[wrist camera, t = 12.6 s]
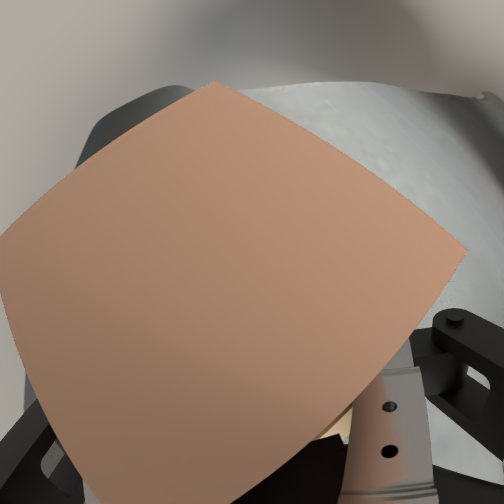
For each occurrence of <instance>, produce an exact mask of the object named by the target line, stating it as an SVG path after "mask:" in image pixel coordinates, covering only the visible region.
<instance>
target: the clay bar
mask: <svg viewBox="0 0 504 504" xmlns="http://www.w3.org/2000/svg"><path fill="white" fill-rule="evenodd" d="M467 251H468V250H467V249H466V248H465V247H464V246H463V245H462V244H461V243H460V242H459V241H458V240H456V239H455V238H454V237H453V236H452V235H451V234H450V233H448V232H447V231H446V230H445V229H444V228H443V227H441V226H440V225H439V224H438V223H437V222H436V221H434V220H433V219H432V218H431V217H430V216H428V215H427V214H426V213H425V212H423V211H422V210H421V209H420V208H418V207H417V206H416V205H415V204H413V203H412V202H411V201H410V200H408V199H407V198H406V197H404V196H403V195H402V194H401V193H399V192H398V191H397V190H395V189H394V188H393V187H391V186H390V185H389V184H387V183H386V182H385V181H383V180H382V179H380V178H379V177H378V176H376V175H375V174H373V173H372V172H371V171H369V170H368V169H366V168H365V167H363V166H362V165H361V164H359V163H358V162H356V161H355V160H353V159H352V158H350V157H349V156H347V155H346V154H344V153H343V152H341V151H340V150H338V149H337V148H335V147H333V146H332V145H330V144H329V143H327V142H326V141H324V140H322V139H321V138H319V137H318V136H316V135H314V134H313V133H311V132H309V131H308V130H306V129H304V128H303V127H301V126H299V125H298V124H296V123H294V122H293V121H291V120H289V119H287V118H286V117H284V116H282V115H280V114H278V113H277V112H275V111H273V110H271V109H269V108H268V107H266V106H264V105H262V104H260V103H258V102H256V101H254V100H253V99H251V98H249V97H247V96H245V95H243V94H241V93H239V92H237V91H235V90H233V89H231V88H229V87H227V86H225V85H222V84H220V83H218V82H216V81H213V82H212V83H209V84H208V85H206V86H204V87H202V88H200V89H198V90H196V91H194V92H192V93H190V94H189V95H187V96H185V97H183V98H181V99H180V100H178V101H176V102H174V103H173V104H171V105H169V106H167V107H166V108H164V109H162V110H161V111H159V112H157V113H156V114H154V115H152V116H151V117H149V118H147V119H146V120H144V121H143V122H141V123H139V124H138V125H136V126H135V127H133V128H132V129H130V130H129V131H127V132H126V133H124V134H123V135H121V136H120V137H118V138H117V139H115V140H114V141H112V142H111V143H110V144H108V145H107V146H105V147H104V148H103V149H101V150H100V151H98V152H97V153H96V154H94V155H93V156H92V157H90V158H89V159H88V160H86V161H85V162H84V163H82V164H81V165H80V166H78V167H77V168H76V169H75V170H73V171H72V172H71V173H69V174H68V175H67V176H66V177H65V178H63V179H62V180H61V181H60V182H58V183H57V184H56V185H55V186H54V187H53V188H51V189H50V190H49V191H48V192H47V193H46V194H44V195H43V196H42V197H41V198H40V199H39V200H38V201H36V202H35V203H34V204H33V205H32V206H31V207H30V208H29V209H28V210H27V211H26V212H24V213H23V214H22V215H21V216H20V217H19V218H18V219H17V220H16V221H15V222H14V223H13V224H12V225H11V226H10V227H9V228H8V229H7V230H6V231H5V232H4V233H3V234H2V235H1V236H0V293H1V297H2V301H3V305H4V308H5V312H6V315H7V319H8V322H9V325H10V329H11V332H12V335H13V338H14V341H15V344H16V347H17V349H18V352H19V355H20V358H21V360H22V363H23V365H24V368H25V371H26V373H27V375H28V378H29V380H30V383H31V385H32V387H33V390H34V392H35V394H36V396H37V398H38V401H39V403H40V405H41V407H42V409H43V411H44V413H45V415H46V417H47V419H48V421H49V423H50V425H51V427H52V428H53V430H54V432H55V434H56V436H57V438H58V439H59V441H60V443H61V445H62V446H63V448H64V450H65V451H66V453H67V455H68V456H69V458H70V460H71V461H72V463H73V464H74V466H75V468H76V469H77V471H78V472H79V474H80V475H81V477H82V478H83V480H84V481H85V483H86V484H87V485H88V487H89V488H90V490H91V491H92V492H93V494H94V495H95V497H96V498H97V499H98V501H99V502H100V503H101V504H230V503H231V502H233V501H234V500H236V499H237V498H239V497H240V496H242V495H243V494H245V493H246V492H247V491H249V490H250V489H252V488H253V487H254V486H256V485H257V484H259V483H260V482H261V481H263V480H264V479H265V478H267V477H268V476H269V475H270V474H272V473H273V472H274V471H276V470H277V469H278V468H279V467H281V466H282V465H283V464H284V463H286V462H287V461H288V460H289V459H291V458H292V457H293V456H294V455H295V454H297V453H298V452H299V451H300V450H301V449H302V448H304V447H305V446H306V445H307V444H308V443H309V442H310V441H312V440H313V439H314V438H315V437H316V436H317V435H318V434H319V433H320V432H322V431H323V430H324V429H325V428H326V427H327V426H328V425H329V424H330V423H331V422H332V421H333V420H334V419H335V418H336V417H337V416H338V415H339V414H340V413H341V412H342V411H343V410H344V409H345V408H346V407H347V406H348V405H349V404H350V403H351V402H352V401H353V400H354V399H355V398H356V397H357V396H358V395H359V394H360V393H361V392H362V391H363V390H364V389H365V388H366V387H367V386H368V384H369V383H370V382H371V381H372V380H373V379H374V378H375V377H376V376H377V374H378V373H379V372H380V371H381V370H382V369H383V368H384V366H385V365H386V364H387V363H388V362H389V361H390V359H391V358H392V357H393V356H394V355H395V353H396V352H397V351H398V350H399V349H400V347H401V346H402V345H403V344H404V342H405V341H406V340H407V339H408V337H409V336H410V335H411V333H412V332H413V331H414V330H415V328H416V327H417V326H418V324H419V323H420V322H421V320H422V319H423V318H424V316H425V315H426V314H427V312H428V311H429V309H430V308H431V307H432V305H433V304H434V302H435V301H436V299H437V298H438V297H439V295H440V294H441V292H442V291H443V289H444V288H445V286H446V285H447V283H448V282H449V280H450V278H451V277H452V275H453V274H454V272H455V271H456V269H457V267H458V266H459V264H460V263H461V261H462V259H463V258H464V256H465V254H466V253H467Z"/></svg>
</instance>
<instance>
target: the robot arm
mask: <svg viewBox="0 0 504 504" xmlns="http://www.w3.org/2000/svg"><path fill="white" fill-rule="evenodd" d="M468 366H470V367H472V368H473V369H475V370H477V371H478V372H480V373H481V374H483V375H484V376H485V377H486V378H487V379H488V381H489V383H490V390H489V389H487V388H486V387H485V386H483V385H482V384H480V383H479V382H477V381H476V380H474V379H473V378H471V377H470V376H468V375H467V371H468ZM425 396H426V398H427V399H428V400H429V401H430V402H431V403H432V404H434V405H435V406H436V407H437V408H438V409H440V410H441V411H442V412H443V413H444V414H446V415H447V416H448V417H449V418H450V419H452V420H453V421H454V422H455V423H456V424H458V425H459V426H460V427H461V428H462V429H464V430H465V431H466V432H467V433H468V434H470V435H471V436H472V437H473V438H475V439H476V440H477V441H478V442H479V443H481V444H482V445H483V446H484V447H485V448H487V449H488V450H489V451H490V452H491V453H493V454H494V455H495V456H496V457H497V458H499V459H500V460H501V461H502V462H503V472H504V329H503V328H501V327H499V326H497V325H495V324H493V323H491V322H489V321H487V320H485V319H483V318H481V317H479V316H477V315H475V314H473V313H471V312H469V311H467V310H463V309H458V308H451V309H445V310H442V311H440V312H438V313H437V314H436V315H435V316H434V317H433V323H432V327H430V328H423V329H416V330H414V331H413V332H412V333H411V335H410V336H409V337H408V339H407V340H406V341H405V342H404V344H403V345H402V346H401V347H400V349H399V350H398V351H397V352H396V353H395V355H394V356H393V357H392V358H391V359H390V361H389V362H388V363H387V364H386V365H385V366H384V368H383V369H382V370H381V371H380V372H379V373H378V374H377V376H376V377H375V378H374V379H373V380H372V381H371V382H370V383H369V384H368V386H367V387H366V388H365V389H364V390H363V391H362V392H361V393H360V394H359V395H358V396H357V397H356V398H355V399H354V400H353V409H352V419H351V427H350V436H349V443H348V444H343V441H342V439H341V436H340V434H339V433H338V434H335V435H332V436H328V437H325V438H321V439H317V440H313V441H310V442H309V443H308V444H307V445H306V446H305V447H304V448H302V449H301V450H300V451H299V452H298V453H297V454H295V455H294V456H293V457H292V458H291V459H289V460H288V461H287V462H286V463H284V464H283V465H282V466H281V467H279V468H278V469H277V470H276V471H274V472H273V473H272V474H270V475H269V476H268V477H267V478H265V479H264V480H263V481H261V482H260V483H259V484H257V485H256V486H254V487H253V488H252V489H250V490H249V491H247V492H246V493H245V494H243V495H242V496H240V497H239V498H237V499H236V500H234V501H233V502H231V503H230V504H504V485H500V484H496V483H492V482H488V481H484V480H481V479H477V478H474V477H470V476H467V475H463V474H460V473H457V472H454V471H451V470H448V469H445V468H442V467H439V466H436V465H433V464H432V453H431V442H430V432H429V423H428V415H427V408H426V401H425ZM54 441H55V442H56V444H57V445H58V446H59V447H60V449H61V450H62V451H63V452H64V453H65V454H64V456H63V457H62V459H61V460H60V462H59V463H58V465H57V466H56V468H55V469H54V471H53V472H52V474H51V475H50V477H49V479H48V478H47V477H46V476H45V475H44V474H43V472H42V470H41V460H42V458H43V457H44V455H45V454H46V453H47V451H48V450H49V448H50V447H51V446H52V444H53V443H54ZM84 501H85V503H86V504H101V503H100V502H99V501H98V499H97V498H96V497H95V495H94V494H93V492H92V491H91V490H90V488H89V487H88V485H87V484H86V483H85V481H84V480H83V478H82V477H81V475H80V474H79V472H78V471H77V469H76V468H75V466H74V464H73V463H72V461H71V460H70V458H69V456H68V455H67V453H66V451H65V450H64V448H63V446H62V445H61V443H60V441H59V439H58V438H57V436H56V434H55V432H54V430H53V428H52V427H51V425H50V423H49V421H48V419H47V417H46V415H45V413H44V411H43V409H42V407H41V405H40V403H39V401H38V398H37V399H36V400H35V401H34V402H33V404H32V405H31V406H30V407H29V408H28V409H27V411H26V412H25V413H24V414H23V415H22V416H21V418H20V419H19V420H18V421H17V422H16V423H15V425H14V426H13V427H12V428H11V429H10V430H9V432H8V433H7V434H6V435H5V437H4V438H3V439H2V440H1V441H0V504H83V503H84Z"/></svg>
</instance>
